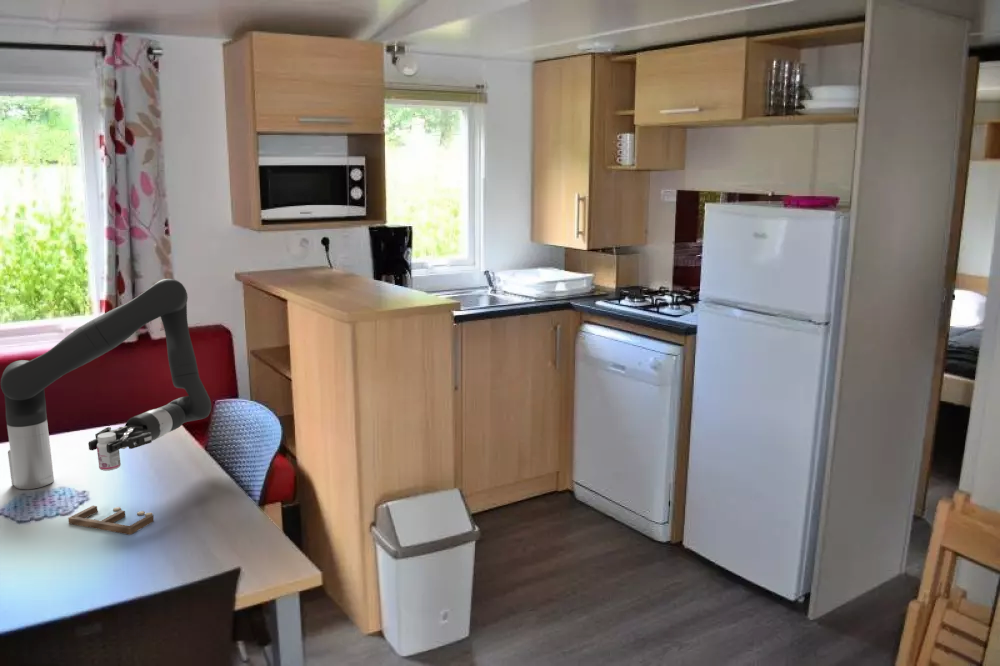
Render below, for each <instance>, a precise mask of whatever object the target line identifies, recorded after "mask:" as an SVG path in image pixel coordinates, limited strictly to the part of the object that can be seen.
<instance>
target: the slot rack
mask: <svg viewBox="0 0 1000 666" xmlns="http://www.w3.org/2000/svg"><path fill="white" fill-rule="evenodd" d="M112 511H113V512H115V513H112V514H111V515H109V516H107V517H105V518H103V519H101V520H99V519H92V518H88V517H90V516H92V515H94V514H97V513H98V506H97V505H91V506H89V507H87V508H85V509H84V510H80V511H78V512H77V513H75V514H73V515H70V516H69V517H68V518H67V519H68V524H69V525H74V526H80V527H85V528H92V529H96V530H100V531H101V530H102V531H107V532H113V533H117V534H119V533H120V534H123V535H124V534H125V535H129V536H130V535H133V534H134V533H137V532H138V531H140V530H142V529H143V528H145V527H146V526H149V525H150V524H152V523H153V522H154V521H155V519H154V513H153V512H146V511H144V510H143V511H142V510H141V511H138V512H136V515H137V516H143V515H144V517H143V518H141V519H139V520H138V521H136V522H134V523H132V524H130V525H126V524H119V523H116V522H117V521H120V520H122V519H123V518H126V511H125V510H122V508H121V506H116V507H113V509H112Z"/></svg>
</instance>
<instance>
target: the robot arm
mask: <svg viewBox="0 0 1000 666" xmlns="http://www.w3.org/2000/svg"><path fill="white" fill-rule="evenodd" d="M187 303H188V292H187V290H186V287H185V285H184V284H183V283H181V282H180V281H179V280H177V279H175V278H174V279H173V278H163V279H160V280H159V281H157V282H155V283H154V284H153V285H151V286H150V287H149V288H147V289H146V290H145V291H143V292H141V294H139V295H137V296H136V297H135V298H133V299H131V300H130V301H128V302H126V303H124V304H122V305H119V306H117V307H115V308H113V309H110V310H109V311H106V312H104V313H103V314H101V315H98V316H97V317H95V318H93V319H92V320H90V321H88V322H86V323H84V324H83V325H80V326H79V327H78V328H76V329H75V330H73V331H72V332H70V333H68V335H67V336H65V337H64V338H63V339H61V341H59V342H58V343H57V344H55V345H54V346H53V347H51V349H49V350H48V351H46V352H44V353H43V354H41V355H39V356H37V357H35V358H33V359H31V360H24V359H21V360H15V361H13V362H11V363H9V364H8V365H6V367H5V369H4V370H3V372H2V375H1V378H0V389H1V391H2V393H3V394H4V404H5V405H4V406H5V421H6V429H7V436H8V443H9V450H8V451H7V458H8V465H9V472H10V473H9V474H10V479H11V480H10V481H11V485H12V486H14V487H15V488H16V489H19V490H32V489H38V488H42V487H45V486H48V485H50V484H52V483H53V482H54V481H55V477H54V469H53V460H52V452H51V443H50V434H49V426H48V425H49V424H48V417H47V416H48V414H47V403H46V396H45V395H46V393H45V389H46V388H47V387H49V386H50V385H51V384H54V382H56V381H57V380H59V379H60V378H62V377H63V376H65V375H66V374H68V373H70V372H72V371H74V370H77V369H79V368H80V367H83V366H84V365H86V364H88V363H90V362H92V361H94V360H95V359H98V358H99V357H101V356H104V355H105V354H106V353H109V352H110V351H112V350H113V349H115V348H117V347H118V346H119V345H121V344H122V343H124V342H125V341H127V340H128V339H129V338H130V337H132V336H133V335H134V334H135V333H136V332H137V331H139V329H141V328H142V327H144V326H145V325H147V324H148V323H150V322H152V321H154V320H157V319H159V318H160V320H161V323H162V325H163V329H164V330H163V331H164V335H165V340H166V341H165V342H166V350H167V360H168V365H169V371H170V375H171V382H172V384H173V387H174V388H176V389H183V390H185V392H186V393H187V395H185V396H181V397H178V398H175V399H173V400H171V401H170V402H168V403H167V404H164V405H163V406H160V407H157V408H153V409H149V410H147V411H145V412H142V413H140V414H137V415H134V416H132V417H130V418H129V419H128V420H127V421H126V423H125V425H123V426H120V427H118V428H116V429H112V427H110V426H108V427H105V428H103V429H102V430H100V431H98V432H97V433H95V439H92V440H90V441H88V451H95V450H97V444H98V443H99V442H98V438H97V436H98V435H99V434H101V433H106V432H114V433H115V434H116V441H113V442H111V443H109V444H107V446H106V447H107V452H108V453H112V452H114V451H116V450H119V451H120V450H121V449H122V450H125V449H127V448H128V449H129V450H132V449H136V448H139V447H142V446H145V445H148V444H152V442H153V441H156V440H157V439H160V438H162V437H164V436H165V435H166V434H168V433H171V432H173V431H175V430H176V429H177V430H178V429H179V428H180V427H181V426H182V425H184V423H187V422H188V423H189V422H194V421H198V420H203V419H206V418H208V417H209V415H210V414H211V410H212V401H211V398H210V396H209V394H208V391H207V390H206V388H205V385H204V384H203V382H202V380H201V378H200V374H199V369H198V364H197V359H196V355H195V351H194V347H193V343H192V339H191V336H190V331H189V323H188V309H187V308H188V304H187Z"/></svg>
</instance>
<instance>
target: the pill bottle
mask: <svg viewBox="0 0 1000 666" xmlns="http://www.w3.org/2000/svg"><path fill="white" fill-rule="evenodd" d="M97 438H98V442H99V443H98V444H97V449H96V451H97V460H98V469H99V470H100V471H105V472H107V471H109V472H110V471H113V470H117V469H118V468H120V467H121V465H122V464H121V455H120V454H121V453H120V449H119V450H116V451H114V452H112V453H108V452H107V447H106V446H107V444H109V443H111V442H113V441H116V434H115V433H114V432H106V433H101V434H99V435H98V436H97Z"/></svg>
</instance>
